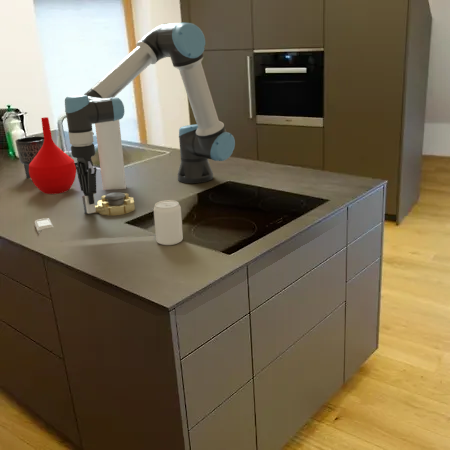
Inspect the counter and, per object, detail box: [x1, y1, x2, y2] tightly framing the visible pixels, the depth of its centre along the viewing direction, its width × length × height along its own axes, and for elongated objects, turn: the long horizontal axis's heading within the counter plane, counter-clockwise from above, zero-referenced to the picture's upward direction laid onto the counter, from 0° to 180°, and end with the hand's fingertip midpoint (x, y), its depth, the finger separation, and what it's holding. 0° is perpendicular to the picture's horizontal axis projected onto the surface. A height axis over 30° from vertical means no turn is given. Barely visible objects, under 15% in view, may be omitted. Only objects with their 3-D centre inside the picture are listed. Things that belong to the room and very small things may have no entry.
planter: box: [15, 135, 44, 179], centre depth 230 cm, size 13×13×18 cm
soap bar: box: [34, 217, 54, 235], centre depth 172 cm, size 5×9×3 cm, turn 26°
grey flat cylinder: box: [105, 191, 125, 206], centre depth 182 cm, size 22×20×7 cm
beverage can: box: [153, 199, 184, 246], centre depth 156 cm, size 8×8×12 cm
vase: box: [29, 117, 77, 195], centre depth 208 cm, size 18×18×30 cm
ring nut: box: [81, 192, 136, 217], centre depth 182 cm, size 17×12×6 cm
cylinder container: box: [94, 120, 127, 191], centre depth 209 cm, size 9×9×30 cm
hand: (91, 212), depth 178 cm, fingers closed
